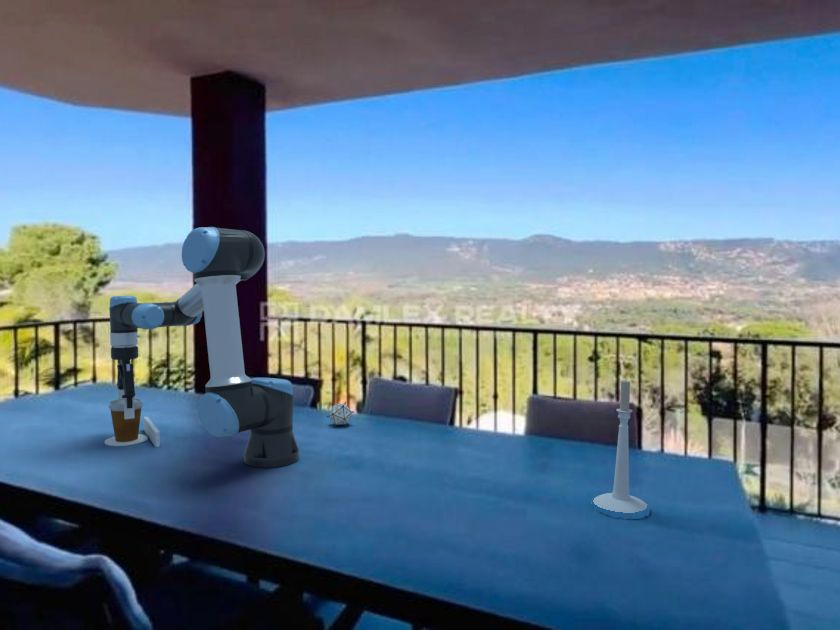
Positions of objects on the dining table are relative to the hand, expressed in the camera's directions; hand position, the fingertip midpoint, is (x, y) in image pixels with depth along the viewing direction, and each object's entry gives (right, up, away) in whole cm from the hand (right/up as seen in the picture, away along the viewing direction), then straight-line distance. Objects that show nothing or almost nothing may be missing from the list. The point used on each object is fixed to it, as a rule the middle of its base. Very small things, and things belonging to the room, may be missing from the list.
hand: (126, 414), depth 183 cm
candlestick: (+137, -14, -47) cm, 146 cm away
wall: (+6, -8, +4) cm, 11 cm away
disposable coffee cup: (0, -8, +1) cm, 8 cm away
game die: (+63, -8, +22) cm, 68 cm away
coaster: (0, -8, +1) cm, 8 cm away
